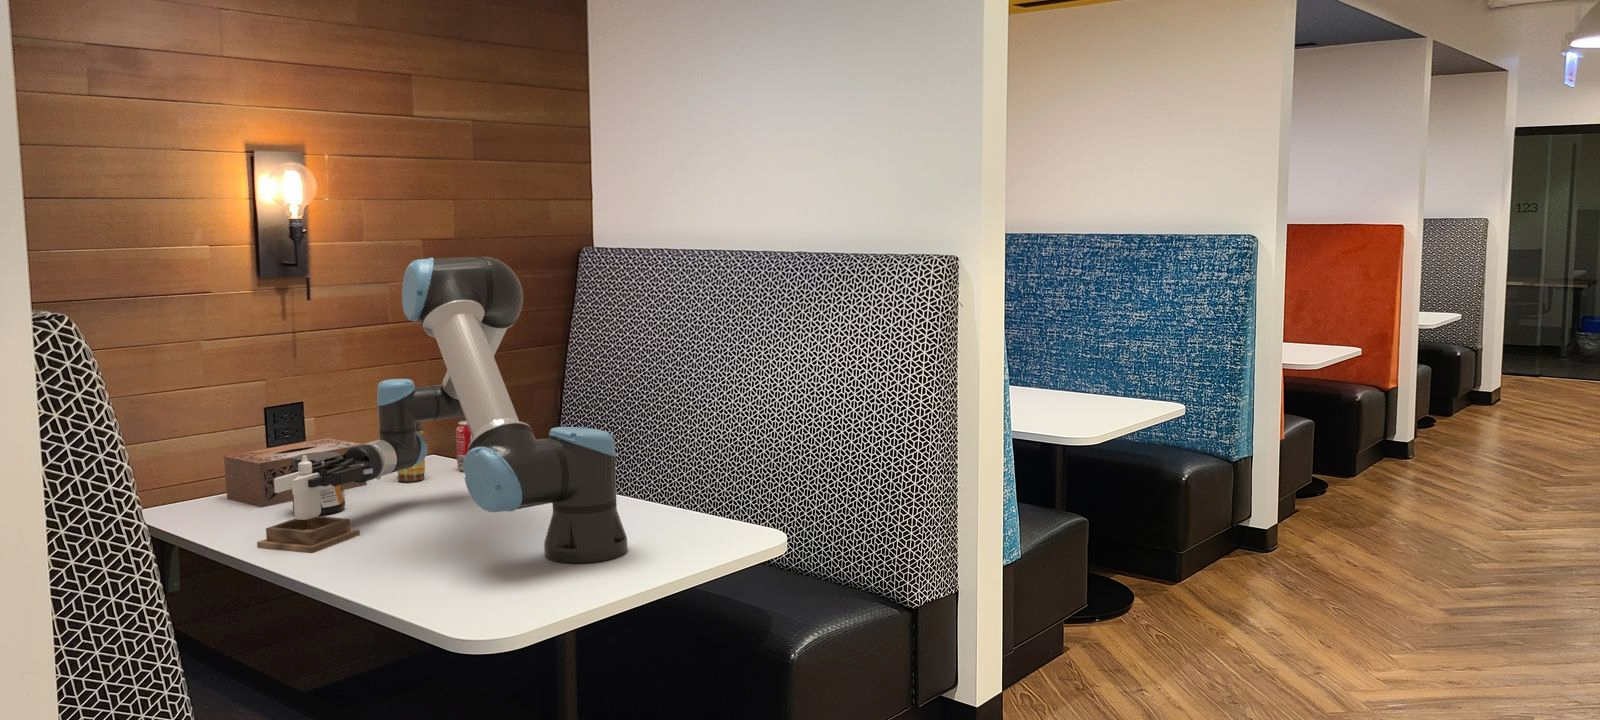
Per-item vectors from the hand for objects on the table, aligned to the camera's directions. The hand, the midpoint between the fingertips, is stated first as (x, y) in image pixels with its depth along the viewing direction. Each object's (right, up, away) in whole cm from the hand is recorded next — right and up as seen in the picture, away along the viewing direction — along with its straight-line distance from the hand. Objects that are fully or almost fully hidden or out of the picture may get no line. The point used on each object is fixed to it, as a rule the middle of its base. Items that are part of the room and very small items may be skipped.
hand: (284, 486), depth 221 cm
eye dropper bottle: (+2, -7, +6) cm, 9 cm away
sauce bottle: (+4, -5, +60) cm, 60 cm away
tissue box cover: (-18, -7, +49) cm, 53 cm away
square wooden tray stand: (+2, -11, +6) cm, 13 cm away
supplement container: (-6, -9, +30) cm, 32 cm away
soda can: (+16, -4, +70) cm, 72 cm away
